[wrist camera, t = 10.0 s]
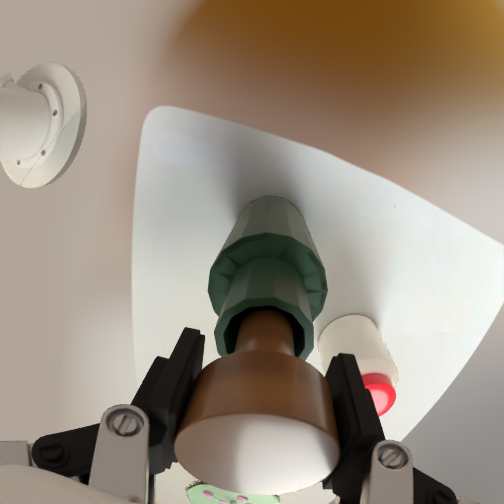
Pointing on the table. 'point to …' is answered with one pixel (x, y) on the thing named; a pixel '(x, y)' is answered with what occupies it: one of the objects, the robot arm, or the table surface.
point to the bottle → (268, 274)
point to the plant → (226, 496)
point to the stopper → (259, 416)
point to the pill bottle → (362, 356)
